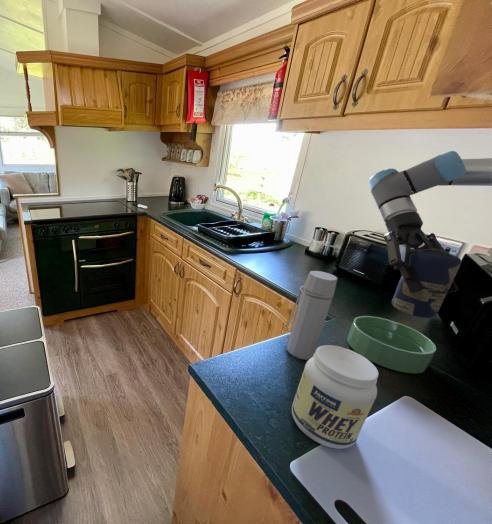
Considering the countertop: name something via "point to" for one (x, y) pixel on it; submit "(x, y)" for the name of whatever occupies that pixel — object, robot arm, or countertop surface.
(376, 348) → the green pet bowl
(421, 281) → the canister
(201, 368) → the countertop surface
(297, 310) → the water bottle
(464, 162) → the robot arm
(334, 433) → the supplement tub
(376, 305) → the countertop surface
